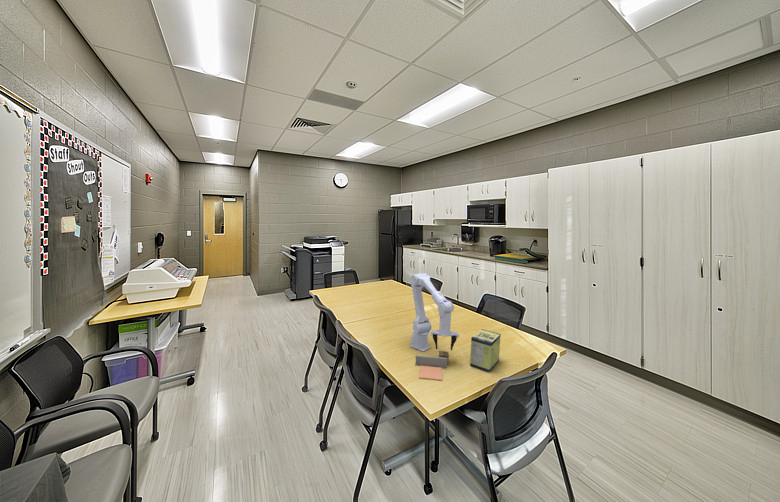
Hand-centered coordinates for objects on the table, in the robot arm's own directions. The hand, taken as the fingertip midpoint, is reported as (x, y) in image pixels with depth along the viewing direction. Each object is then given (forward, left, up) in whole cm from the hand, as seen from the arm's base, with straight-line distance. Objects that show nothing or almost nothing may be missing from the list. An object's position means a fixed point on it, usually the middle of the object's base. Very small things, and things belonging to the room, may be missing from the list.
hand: (443, 348), depth 150 cm
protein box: (+17, +14, -8) cm, 23 cm away
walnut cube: (0, 0, -8) cm, 8 cm away
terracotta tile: (+1, -14, -7) cm, 16 cm away
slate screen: (-2, -8, -7) cm, 11 cm away
